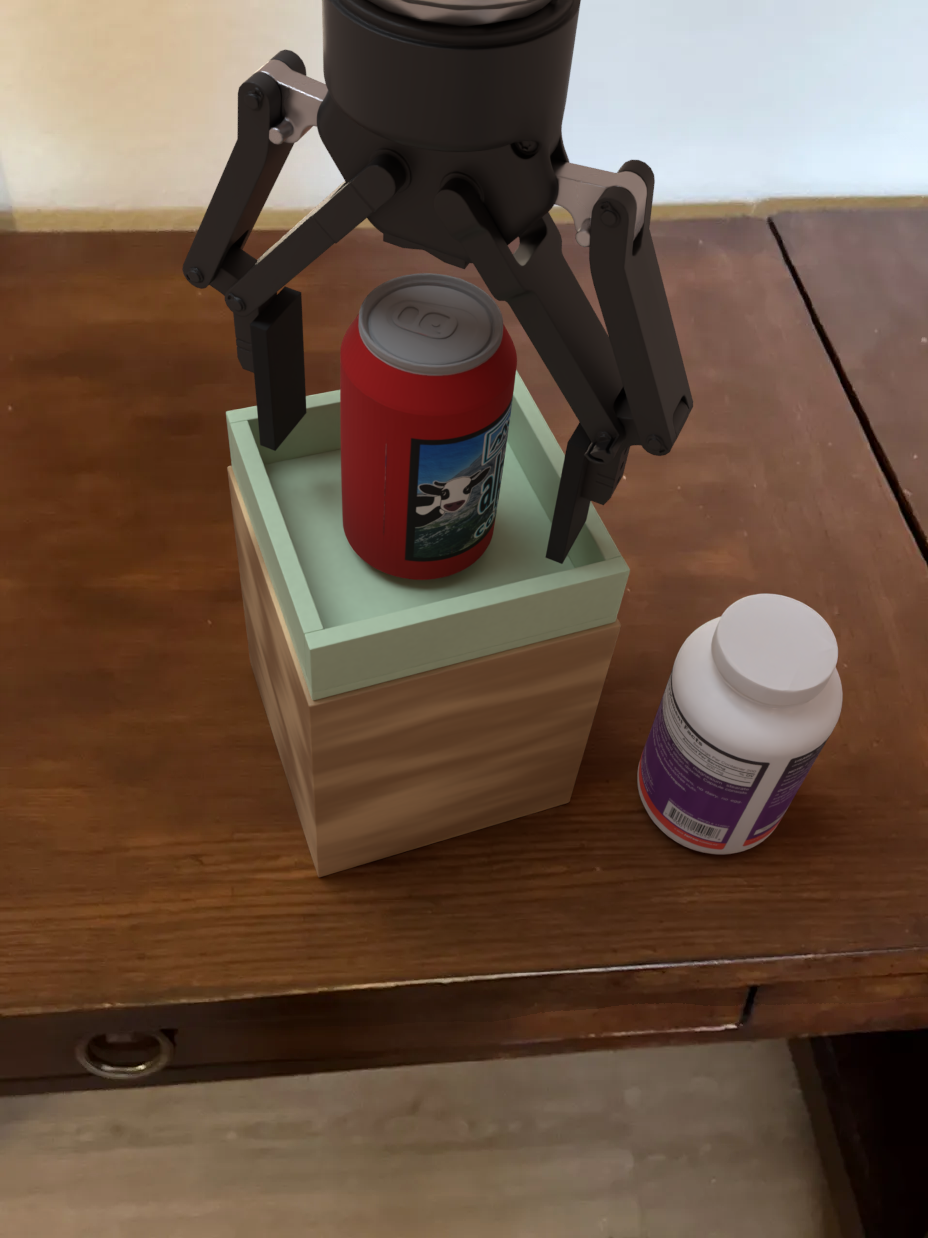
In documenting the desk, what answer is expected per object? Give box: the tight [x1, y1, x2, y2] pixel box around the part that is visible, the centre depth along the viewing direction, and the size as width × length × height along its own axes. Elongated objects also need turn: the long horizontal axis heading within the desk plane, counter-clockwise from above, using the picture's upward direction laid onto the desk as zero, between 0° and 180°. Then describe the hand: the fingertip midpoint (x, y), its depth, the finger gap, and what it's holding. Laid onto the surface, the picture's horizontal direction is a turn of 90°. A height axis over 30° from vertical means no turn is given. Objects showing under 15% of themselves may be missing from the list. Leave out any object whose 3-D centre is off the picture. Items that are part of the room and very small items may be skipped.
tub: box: [225, 369, 631, 700], centre depth 53 cm, size 14×14×4 cm
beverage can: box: [339, 272, 518, 580], centre depth 49 cm, size 7×7×12 cm
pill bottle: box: [636, 593, 844, 855], centre depth 60 cm, size 8×8×14 cm
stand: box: [226, 465, 622, 878], centre depth 61 cm, size 14×14×16 cm
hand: (421, 483), depth 51 cm, fingers open, 13 cm apart
